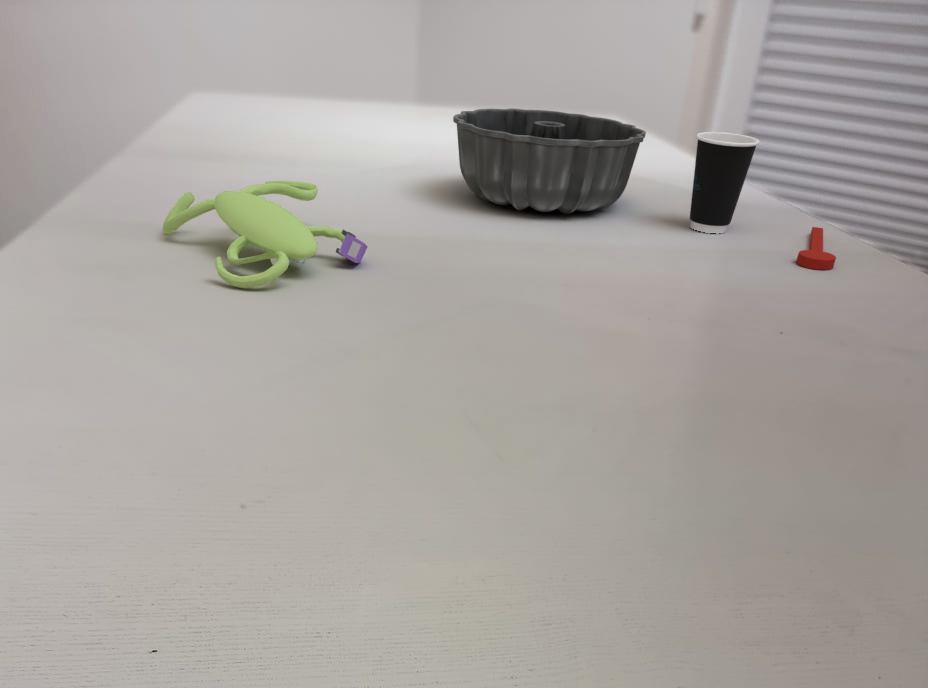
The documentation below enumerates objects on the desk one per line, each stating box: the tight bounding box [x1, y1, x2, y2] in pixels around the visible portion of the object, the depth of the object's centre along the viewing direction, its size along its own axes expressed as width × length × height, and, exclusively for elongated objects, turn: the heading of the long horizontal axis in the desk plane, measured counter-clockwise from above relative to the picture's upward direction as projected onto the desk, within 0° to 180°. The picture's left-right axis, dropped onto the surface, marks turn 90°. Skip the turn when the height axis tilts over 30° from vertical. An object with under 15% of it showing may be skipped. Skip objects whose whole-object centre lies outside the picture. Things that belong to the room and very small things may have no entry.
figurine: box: [161, 180, 369, 290], centre depth 101 cm, size 18×27×6 cm
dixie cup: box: [689, 131, 760, 235], centre depth 120 cm, size 8×8×11 cm
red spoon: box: [796, 226, 837, 271], centre depth 117 cm, size 4×18×1 cm, turn 162°
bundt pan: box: [452, 108, 647, 215], centre depth 127 cm, size 26×26×10 cm
